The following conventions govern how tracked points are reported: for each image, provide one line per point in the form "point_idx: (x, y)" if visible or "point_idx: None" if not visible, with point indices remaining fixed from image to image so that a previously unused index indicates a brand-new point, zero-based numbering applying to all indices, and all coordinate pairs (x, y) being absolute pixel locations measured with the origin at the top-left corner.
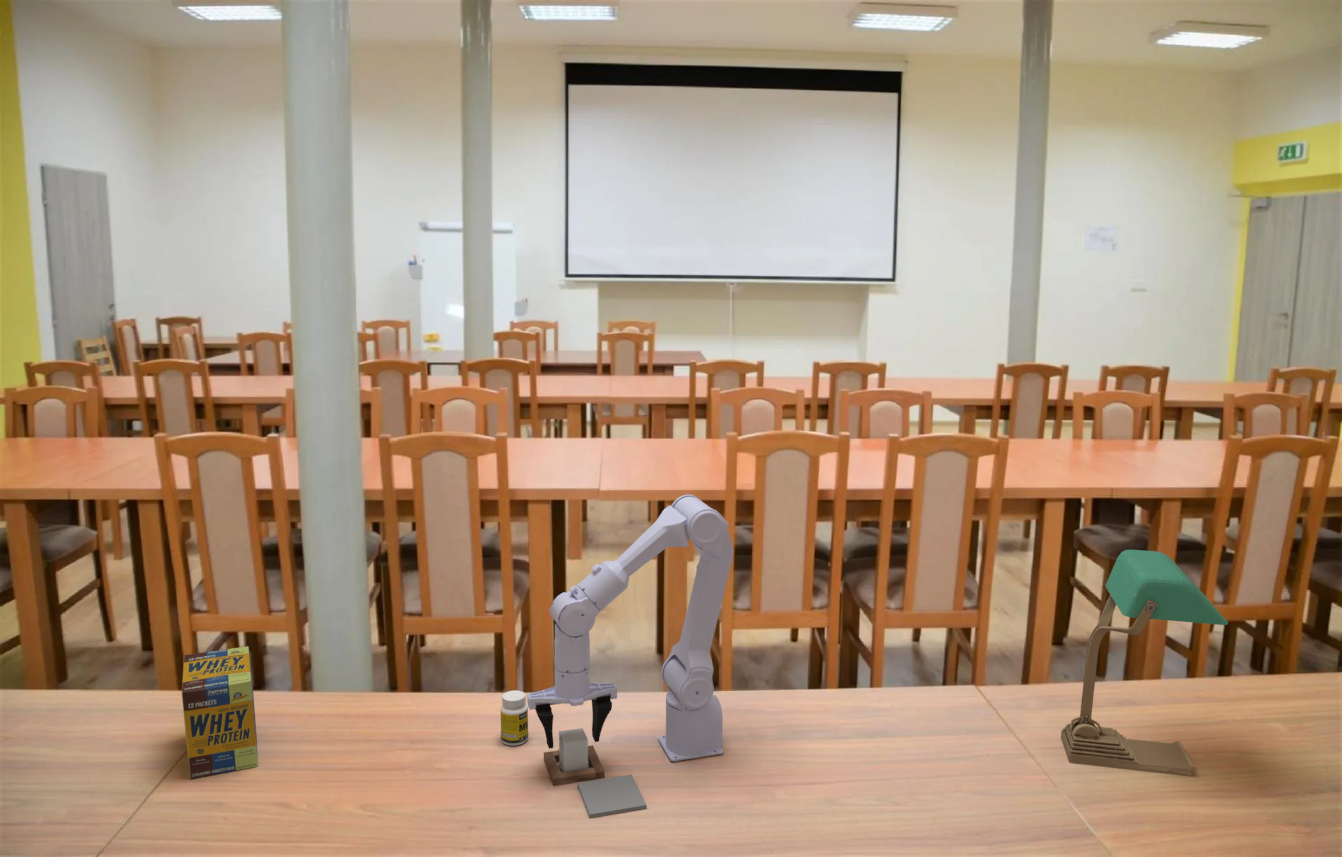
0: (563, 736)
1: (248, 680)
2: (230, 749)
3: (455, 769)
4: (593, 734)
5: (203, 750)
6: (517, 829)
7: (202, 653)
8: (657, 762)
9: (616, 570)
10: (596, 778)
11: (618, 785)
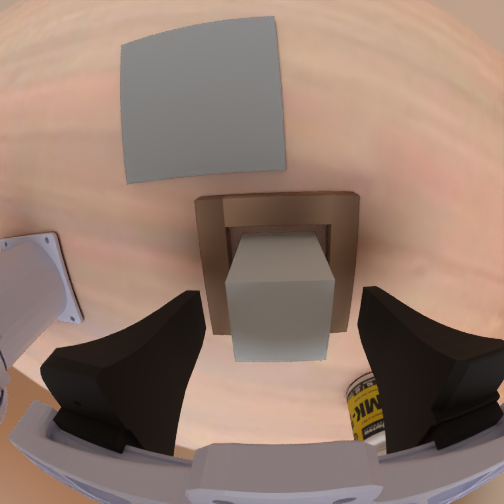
0: (320, 327)
1: None
2: None
3: (489, 309)
4: (199, 321)
5: None
6: (443, 50)
7: None
8: (79, 240)
9: None
10: (223, 195)
11: (167, 133)
